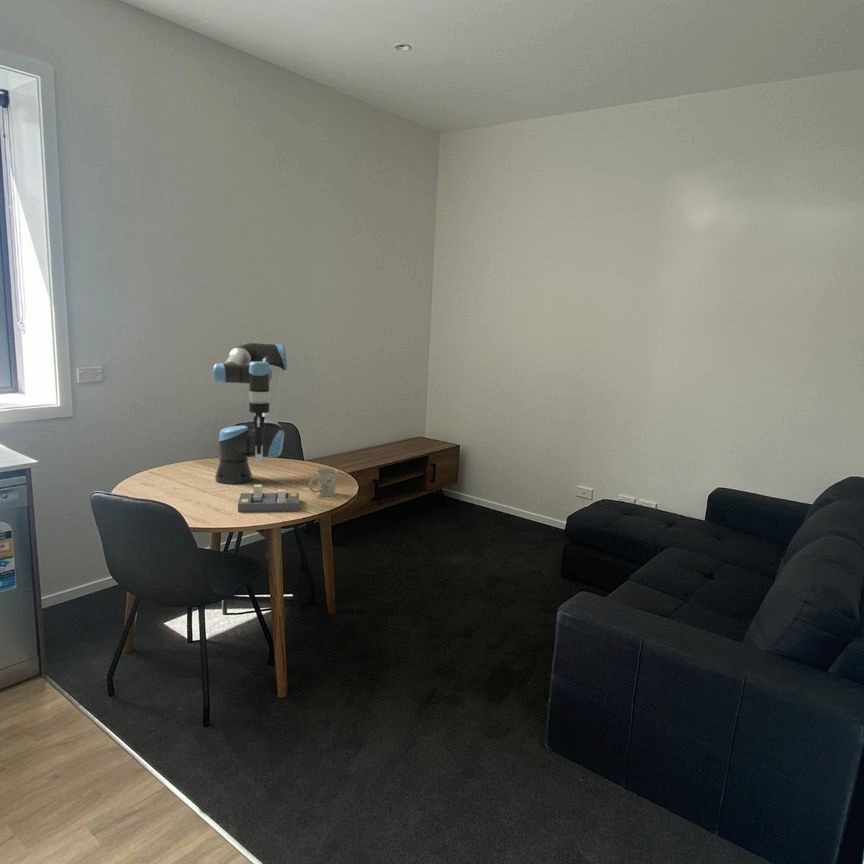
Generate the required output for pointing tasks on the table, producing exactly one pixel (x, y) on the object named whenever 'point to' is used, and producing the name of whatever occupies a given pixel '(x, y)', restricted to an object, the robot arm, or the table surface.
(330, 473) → the mug
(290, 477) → the table surface
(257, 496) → the tab
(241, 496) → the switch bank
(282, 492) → the tab
